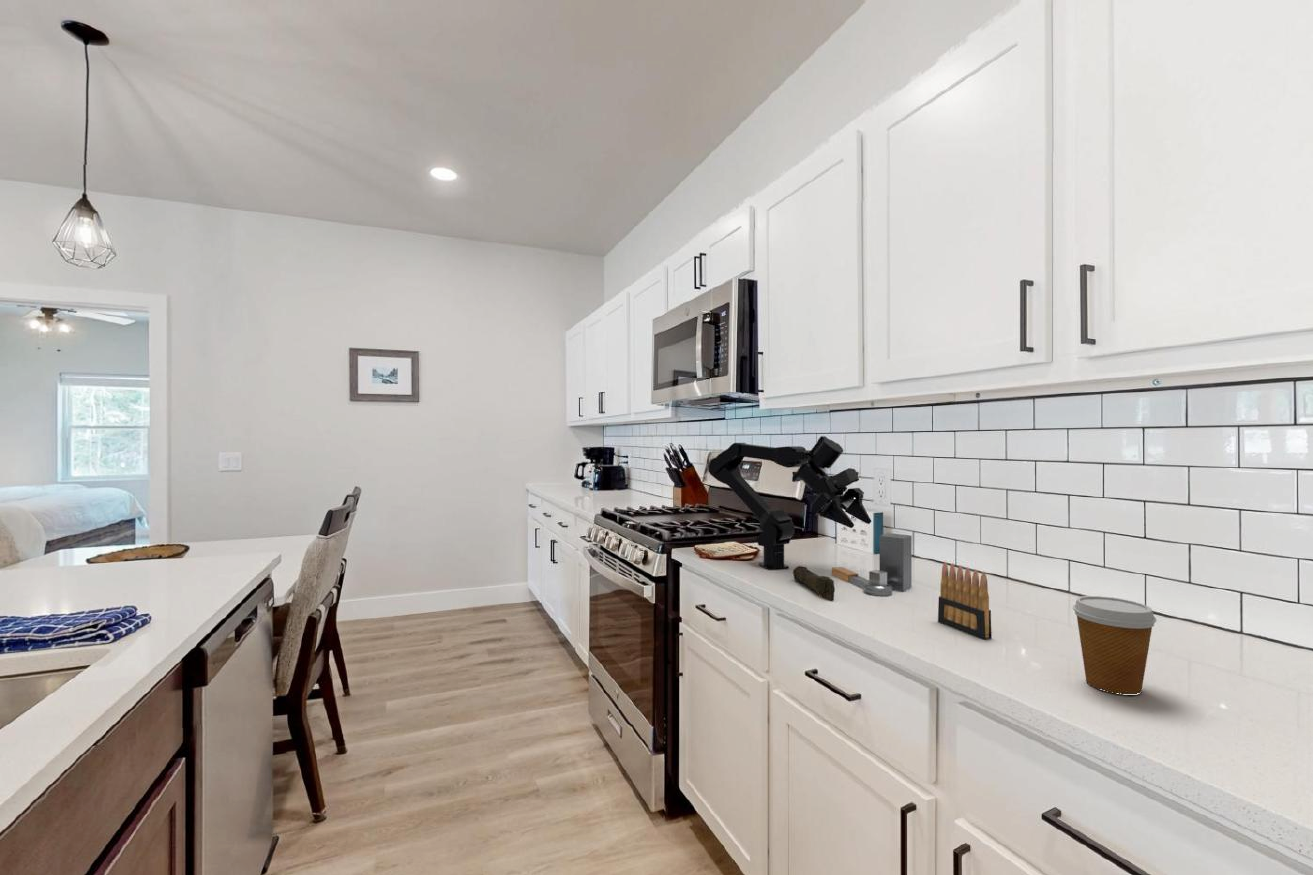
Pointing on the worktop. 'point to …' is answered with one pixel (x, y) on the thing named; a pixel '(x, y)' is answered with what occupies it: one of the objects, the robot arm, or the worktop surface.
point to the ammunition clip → (965, 602)
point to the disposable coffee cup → (1114, 642)
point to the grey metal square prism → (897, 560)
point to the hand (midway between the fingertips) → (861, 524)
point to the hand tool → (815, 582)
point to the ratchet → (866, 581)
